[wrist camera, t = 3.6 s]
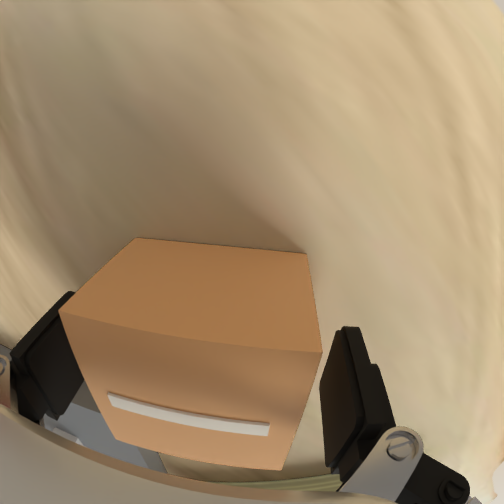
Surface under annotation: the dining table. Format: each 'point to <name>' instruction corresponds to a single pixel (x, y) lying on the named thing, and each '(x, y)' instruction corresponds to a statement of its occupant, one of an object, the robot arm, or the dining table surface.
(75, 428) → the gray panel
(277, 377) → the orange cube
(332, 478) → the hardcover book
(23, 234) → the dining table surface
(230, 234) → the dining table surface
